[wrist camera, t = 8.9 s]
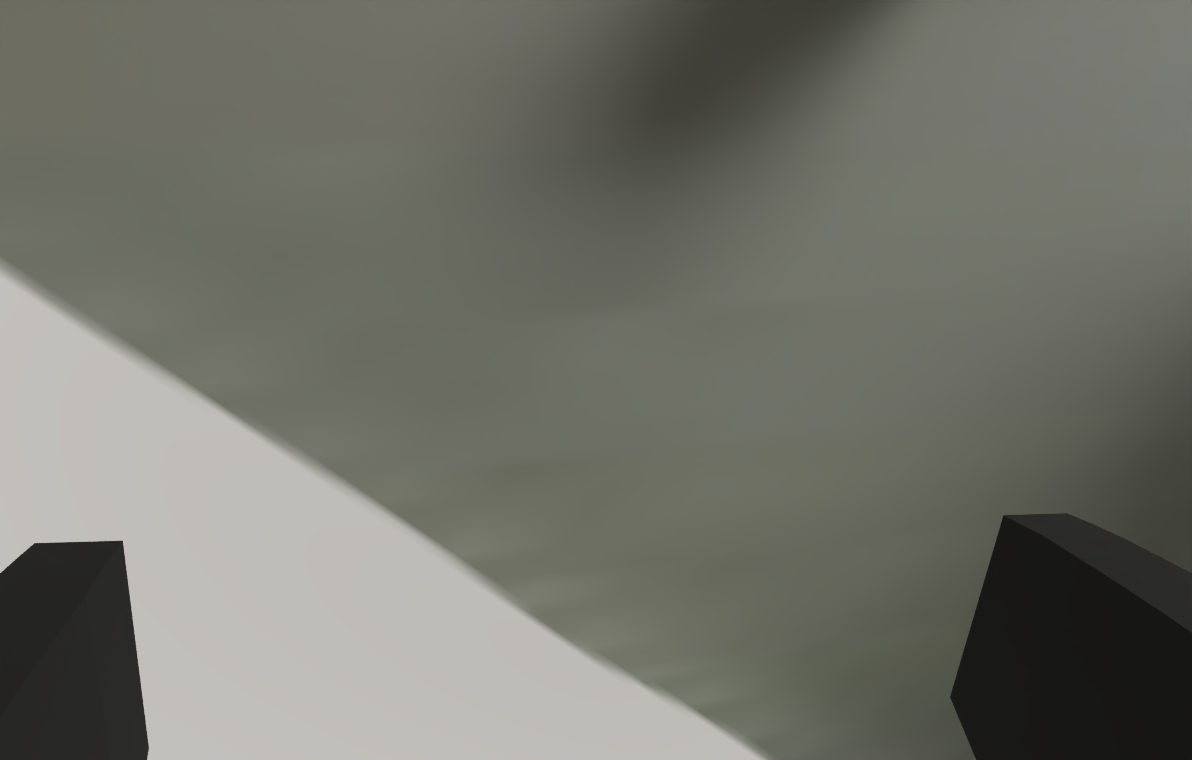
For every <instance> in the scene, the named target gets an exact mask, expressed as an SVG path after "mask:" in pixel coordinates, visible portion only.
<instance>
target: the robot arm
mask: <svg viewBox="0 0 1192 760" xmlns="http://www.w3.org/2000/svg"><path fill="white" fill-rule="evenodd" d="M950 698H951V700H952V703H953V705H954V707H955V710H956V712H957V715H958V717H959V719H960V722H961V724H962V727H963V729H964V731H965V734H966V736H967V739H968V741H969V743H970V746H971V748H972V751H973V753H974V755H975V758H976V760H1192V574H1191V573H1190V572H1188V571H1186V570H1184V569H1182V568H1180V567H1178V566H1176V565H1174V564H1172V563H1171V562H1169V561H1167V560H1165V559H1163V558H1161V557H1159V556H1157V555H1155V554H1153V553H1151V552H1149V551H1147V550H1145V549H1143V548H1141V547H1139V546H1137V545H1135V544H1133V543H1131V542H1129V541H1127V540H1125V539H1123V538H1121V537H1119V536H1117V535H1115V534H1113V533H1111V532H1109V531H1106V530H1104V529H1102V528H1100V527H1098V526H1095V525H1093V524H1091V523H1088V522H1086V521H1084V520H1081V519H1079V518H1076V517H1074V516H1072V515H1069V514H1034V515H1004V516H1003V519H1002V522H1001V526H1000V529H999V533H998V536H997V539H996V543H995V546H994V550H993V553H992V557H991V560H990V563H989V567H988V570H987V574H986V577H985V580H984V584H983V587H982V591H981V594H980V597H979V601H978V604H977V608H976V611H975V614H974V618H973V621H972V625H971V628H970V631H969V635H968V638H967V642H966V645H965V648H964V652H963V655H962V659H961V662H960V665H959V669H958V672H957V676H956V679H955V682H954V686H953V689H952V693H951V696H950ZM148 750H149V746H148V739H147V731H146V724H145V715H144V707H143V699H142V691H141V683H140V675H139V667H138V659H137V651H136V643H135V635H134V627H133V619H132V612H131V603H130V595H129V588H128V579H127V571H126V565H125V556H124V548H123V541H104V542H103V541H99V542H66V543H34V544H33V545H32V546H31V547H30V548H29V549H27V550H26V551H25V552H24V553H23V554H22V555H20V556H19V557H18V558H17V559H16V560H15V561H14V562H13V563H11V564H10V565H9V566H8V567H7V568H6V569H5V570H4V571H2V572H1V573H0V760H147V755H148Z"/></svg>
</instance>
